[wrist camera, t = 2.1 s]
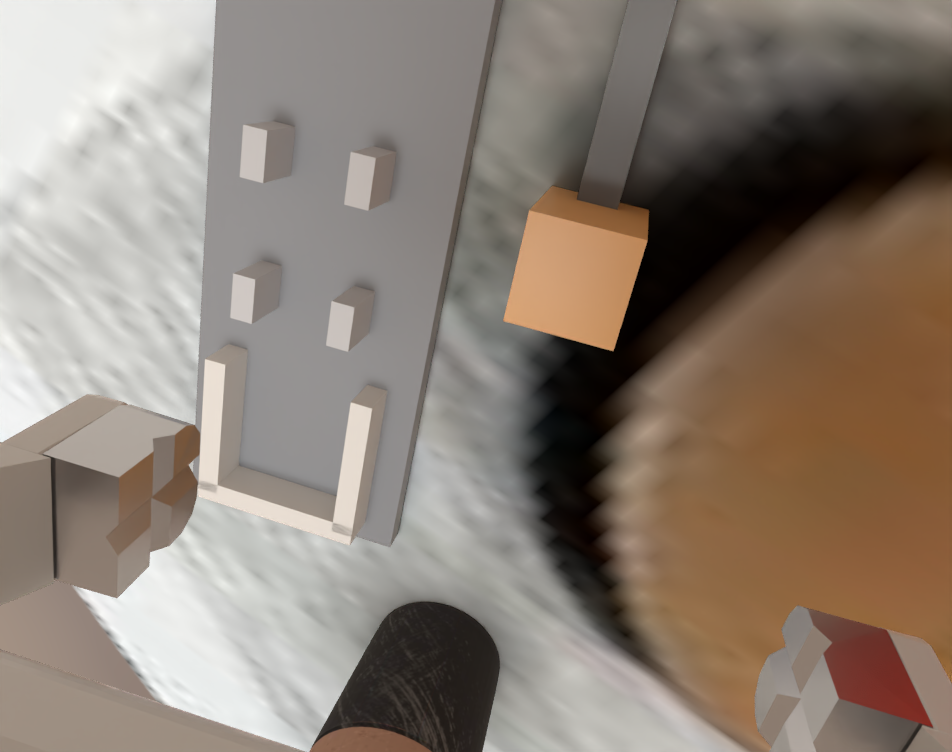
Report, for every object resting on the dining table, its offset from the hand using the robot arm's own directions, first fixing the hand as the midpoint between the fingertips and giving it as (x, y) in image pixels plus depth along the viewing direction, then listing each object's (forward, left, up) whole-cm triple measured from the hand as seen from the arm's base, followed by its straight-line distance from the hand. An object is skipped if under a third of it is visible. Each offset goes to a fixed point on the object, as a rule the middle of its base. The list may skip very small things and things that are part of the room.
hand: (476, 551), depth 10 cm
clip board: (+11, +4, -22) cm, 25 cm away
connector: (0, -6, -22) cm, 23 cm away
